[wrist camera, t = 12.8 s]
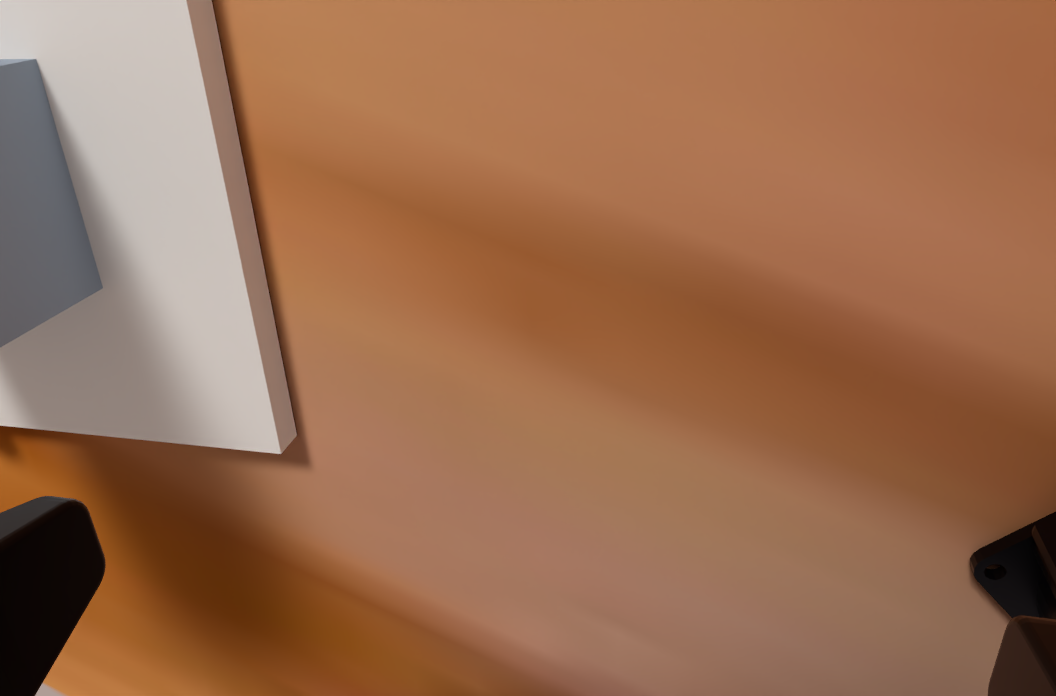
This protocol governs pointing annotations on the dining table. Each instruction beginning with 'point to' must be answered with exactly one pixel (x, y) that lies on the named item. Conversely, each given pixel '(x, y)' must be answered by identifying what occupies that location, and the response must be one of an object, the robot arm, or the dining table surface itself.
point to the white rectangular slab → (149, 236)
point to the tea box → (37, 210)
